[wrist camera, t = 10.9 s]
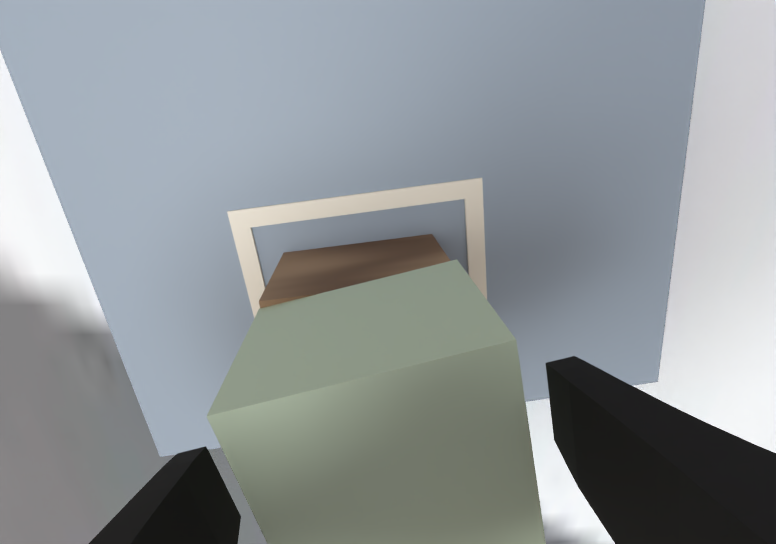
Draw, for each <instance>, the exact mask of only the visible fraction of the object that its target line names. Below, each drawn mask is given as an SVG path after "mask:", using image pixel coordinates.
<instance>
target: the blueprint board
mask: <svg viewBox="0 0 776 544" xmlns="http://www.w3.org/2000/svg"><path fill="white" fill-rule="evenodd" d="M704 7H705V0H0V50H1V53H2V55H3V58H4V60H5V63H6V65H7V68H8V71H9V73H10V76H11V78H12V81H13V83H14V86H15V88H16V91H17V93H18V96H19V99H20V101H21V104H22V106H23V109H24V111H25V114H26V116H27V119H28V121H29V124H30V127H31V129H32V132H33V134H34V137H35V139H36V142H37V144H38V147H39V149H40V152H41V155H42V157H43V160H44V162H45V165H46V167H47V170H48V172H49V175H50V177H51V180H52V183H53V185H54V188H55V190H56V193H57V195H58V198H59V200H60V203H61V206H62V208H63V211H64V213H65V216H66V218H67V221H68V223H69V226H70V228H71V231H72V234H73V236H74V239H75V241H76V244H77V246H78V249H79V251H80V254H81V256H82V259H83V262H84V264H85V267H86V269H87V272H88V274H89V277H90V279H91V282H92V284H93V287H94V290H95V292H96V295H97V297H98V300H99V302H100V305H101V307H102V310H103V312H104V315H105V318H106V320H107V323H108V325H109V328H110V330H111V333H112V335H113V338H114V340H115V343H116V346H117V348H118V351H119V353H120V356H121V358H122V361H123V363H124V366H125V368H126V371H127V374H128V376H129V379H130V381H131V384H132V386H133V389H134V391H135V394H136V396H137V399H138V402H139V404H140V407H141V409H142V412H143V414H144V417H145V419H146V422H147V425H148V427H149V430H150V432H151V435H152V437H153V440H154V442H155V445H156V447H157V450H158V453H159V455H160V457H162V456H169V455H175V454H177V453H181V452H185V451H189V450H193V449H197V448H201V447H205V446H206V447H207V449H215V448H221V446H220V444H219V442H218V440H217V437H216V435H215V433H214V431H213V429H212V427H211V425H210V423H209V421H208V419H207V417H206V416H207V414H208V412H209V410H210V408H211V406H212V404H213V402H214V400H215V398H216V396H217V394H218V392H219V390H220V388H221V386H222V384H223V381H224V379H225V377H226V375H227V373H228V371H229V369H230V367H231V365H232V363H233V361H234V359H235V357H236V355H237V353H238V351H239V349H240V347H241V345H242V343H243V341H244V339H245V337H246V334H247V332H248V330H249V328H250V326H251V324H252V322H253V320H254V318H255V316H256V314H257V312H258V310H259V309H260V305H259V300H260V298H261V296H262V294H263V292H264V290H265V288H266V286H267V284H268V282H269V280H270V278H271V276H272V274H273V272H274V270H275V269H276V267H277V265H278V263H279V261H280V259H281V257H282V255H283V253H284V252H292V251H300V250H308V249H316V248H324V247H332V246H340V245H348V244H356V243H364V242H372V241H379V240H387V239H395V238H403V237H411V236H419V235H427V234H432V235H433V236H434V237H435V239H436V240H437V242H438V243H439V245H440V246H441V248H442V249H443V251H444V252H445V253H446V255H447V256H448V258H449V259H450V261H452V260H456V259H457V260H458V262H459V263H460V264H461V266H462V267H463V268H464V270H465V271H466V272H467V274H468V275H469V276H470V278H471V279H472V280H473V282H474V283H475V284H476V286H477V287H478V289H479V290H480V291H481V293H482V294H483V295H484V297H485V298H486V299H487V301H488V302H489V303H490V305H491V306H492V307H493V309H494V310H495V311H496V313H497V314H498V316H499V317H500V318H501V320H502V321H503V322H504V324H505V325H506V326H507V328H508V329H509V330H510V332H511V333H512V334H513V336H514V337H515V339H516V341H517V348H518V355H519V362H520V369H521V376H522V383H523V390H524V397H525V402H526V401H533V400H540V399H546V398H549V390H548V381H547V372H546V364H545V363H547V362H551V361H555V360H559V359H564V358H568V357H572V356H576V357H578V358H580V359H582V360H584V361H586V362H588V363H590V364H592V365H593V366H595V367H597V368H599V369H601V370H603V371H605V372H607V373H609V374H610V375H612V376H614V377H616V378H618V379H620V380H622V381H624V382H626V383H627V384H629V385H631V386H632V385H639V384H646V383H652V382H658V375H659V367H660V359H661V351H662V343H663V335H664V327H665V319H666V311H667V303H668V295H669V287H670V279H671V271H672V263H673V255H674V247H675V239H676V231H677V223H678V215H679V207H680V199H681V191H682V183H683V175H684V167H685V159H686V151H687V143H688V135H689V127H690V119H691V111H692V103H693V95H694V87H695V79H696V71H697V63H698V55H699V47H700V39H701V31H702V23H703V15H704Z"/></svg>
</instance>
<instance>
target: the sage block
mask: <svg viewBox="0 0 776 544" xmlns="http://www.w3.org/2000/svg"><path fill="white" fill-rule="evenodd" d="M206 417H207V419H208V421H209V423H210V425H211V427H212V429H213V431H214V433H215V435H216V437H217V440H218V442H219V444H220V446H221V448H222V450H223V452H224V454H225V456H226V458H227V460H228V462H229V464H230V467H231V469H232V471H233V473H234V475H235V477H236V479H237V481H238V483H239V485H240V487H241V489H242V491H243V494H244V496H245V498H246V500H247V502H248V504H249V506H250V508H251V510H252V512H253V514H254V516H255V519H256V521H257V523H258V525H259V527H260V529H261V531H262V533H263V535H264V537H265V539H266V541H267V543H268V544H546V542H545V536H544V529H543V522H542V515H541V508H540V501H539V494H538V487H537V480H536V473H535V466H534V459H533V452H532V445H531V438H530V431H529V424H528V417H527V411H526V404H525V397H524V390H523V383H522V376H521V369H520V362H519V355H518V348H517V341H516V339H515V337H514V336H513V334H512V333H511V332H510V330H509V329H508V328H507V326H506V325H505V324H504V322H503V321H502V320H501V318H500V317H499V316H498V314H497V313H496V311H495V310H494V309H493V307H492V306H491V305H490V303H489V302H488V301H487V299H486V298H485V297H484V295H483V294H482V293H481V291H480V290H479V289H478V287H477V286H476V284H475V283H474V282H473V280H472V279H471V278H470V276H469V275H468V274H467V272H466V271H465V270H464V268H463V267H462V266H461V264H460V263H459V262H458V260H457V259H456V260H452V261H448V262H444V263H440V264H436V265H432V266H428V267H424V268H420V269H416V270H412V271H408V272H404V273H400V274H396V275H392V276H388V277H384V278H380V279H376V280H372V281H368V282H364V283H360V284H356V285H352V286H348V287H344V288H340V289H336V290H332V291H328V292H324V293H320V294H316V295H312V296H308V297H304V298H300V299H296V300H292V301H288V302H284V303H280V304H276V305H272V306H268V307H264V308H260V309H259V310H258V312H257V314H256V316H255V318H254V320H253V322H252V324H251V326H250V328H249V330H248V332H247V334H246V337H245V339H244V341H243V343H242V345H241V347H240V349H239V351H238V353H237V355H236V357H235V359H234V361H233V363H232V365H231V367H230V369H229V371H228V373H227V375H226V377H225V379H224V381H223V384H222V386H221V388H220V390H219V392H218V394H217V396H216V398H215V400H214V402H213V404H212V406H211V408H210V410H209V412H208V414H207V416H206Z"/></svg>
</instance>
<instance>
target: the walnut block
mask: <svg viewBox="0 0 776 544" xmlns="http://www.w3.org/2000/svg"><path fill="white" fill-rule="evenodd" d="M448 261H450V259H449V258H448V256H447V255H446V253H445V252H444V251H443V249H442V248H441V246H440V245H439V243H438V242H437V240H436V239H435V237H434V236H433V235H432V234H427V235H419V236H411V237H403V238H395V239H387V240H379V241H372V242H364V243H356V244H348V245H340V246H332V247H324V248H316V249H308V250H300V251H292V252H284V253H283V255H282V257H281V259H280V261H279V263H278V265H277V267H276V269H275V270H274V272H273V274H272V276H271V278H270V280H269V282H268V284H267V286H266V288H265V290H264V292H263V294H262V296H261V298H260V300H259V305H260V308H264V307H268V306H272V305H276V304H280V303H284V302H288V301H292V300H296V299H300V298H304V297H308V296H312V295H316V294H320V293H324V292H328V291H332V290H336V289H340V288H344V287H348V286H352V285H356V284H360V283H364V282H368V281H372V280H376V279H380V278H384V277H388V276H392V275H396V274H400V273H404V272H408V271H412V270H416V269H420V268H424V267H428V266H432V265H436V264H440V263H444V262H448Z"/></svg>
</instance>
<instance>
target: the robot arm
mask: <svg viewBox="0 0 776 544" xmlns="http://www.w3.org/2000/svg"><path fill="white" fill-rule="evenodd" d="M545 364H546V372H547V381H548V390H549V398H550V407H551V415H552V424H553V433H554V440H555V442H556V444H557V446H558V448H559V450H560V452H561V454H562V456H563V458H564V460H565V462H566V464H567V466H568V468H569V470H570V472H571V474H572V476H573V478H574V480H575V482H576V483H577V485H578V487H579V489H580V490H581V492H582V493H583V495H584V497H585V498H586V500H587V501H588V503H589V504H590V506H591V507H592V509H593V510H594V512H595V513H596V515H597V516H598V518H599V520H600V521H601V523H602V524H603V526H604V527H605V529H606V530H607V532H608V533H609V535H610V536H611V538H612V539H613V541H614V542H615V544H776V453H773V452H771V451H769V450H766V449H764V448H761V447H759V446H757V445H754V444H752V443H750V442H748V441H746V440H743V439H741V438H739V437H737V436H734V435H732V434H730V433H728V432H725V431H723V430H721V429H719V428H716V427H714V426H712V425H710V424H708V423H706V422H703V421H701V420H699V419H697V418H695V417H693V416H691V415H689V414H687V413H685V412H683V411H680V410H678V409H676V408H674V407H672V406H670V405H668V404H666V403H664V402H662V401H660V400H658V399H656V398H654V397H652V396H651V395H649V394H647V393H645V392H643V391H641V390H639V389H637V388H635V387H633V386H631V385H629V384H627V383H626V382H624V381H622V380H620V379H618V378H616V377H614V376H612V375H610V374H609V373H607V372H605V371H603V370H601V369H599V368H597V367H595V366H593V365H592V364H590V363H588V362H586V361H584V360H582V359H580V358H578V357H576V356H572V357H568V358H564V359H559V360H555V361H551V362H547V363H545ZM240 519H241V516H240V514H239V512H238V510H237V508H236V506H235V504H234V502H233V500H232V498H231V496H230V494H229V492H228V490H227V488H226V486H225V484H224V481H223V479H222V477H221V475H220V473H219V471H218V469H217V467H216V465H215V463H214V461H213V459H212V457H211V455H210V453H209V451H208V449H207V447H206V446H205V447H201V448H197V449H193V450H189V451H185V452H181V453H177V454H176V455H175V456H174V457H173V458H172V459H171V460H170V461H169V462H168V463H167V464H166V465H165V466H164V467H162V468H161V469H160V470H159V471H158V472H157V473H156V474H155V475H154V477H153V478H152V479H151V480H150V481H149V482H148V483H147V484H146V485H145V486H144V487H143V488H142V489H141V490H140V491H139V492H138V493H137V494H136V495H135V496H134V497H133V498H132V499H131V500H130V501H129V502H128V503H127V505H126V506H125V507H124V508H123V509H122V510H121V511H120V512H119V513H118V514H117V515H116V516H115V517H114V518H113V519H112V520H111V521H110V522H109V523H108V524H107V525H106V526H105V527H104V528H103V529H102V530H101V532H100V533H99V534H98V535H97V536H96V537H95V538H94V539H93V540H92V541H91V542H90V543H89V544H237V543H238V535H239V527H240Z"/></svg>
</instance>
